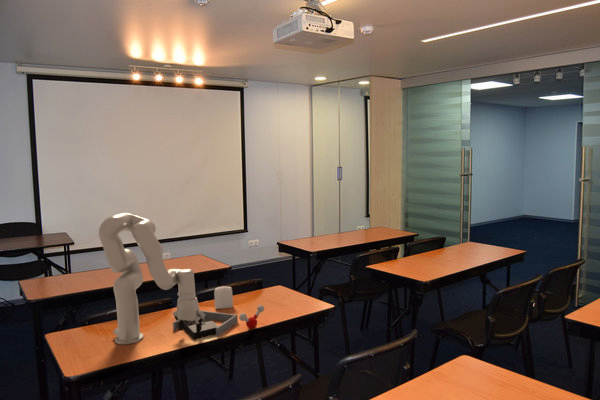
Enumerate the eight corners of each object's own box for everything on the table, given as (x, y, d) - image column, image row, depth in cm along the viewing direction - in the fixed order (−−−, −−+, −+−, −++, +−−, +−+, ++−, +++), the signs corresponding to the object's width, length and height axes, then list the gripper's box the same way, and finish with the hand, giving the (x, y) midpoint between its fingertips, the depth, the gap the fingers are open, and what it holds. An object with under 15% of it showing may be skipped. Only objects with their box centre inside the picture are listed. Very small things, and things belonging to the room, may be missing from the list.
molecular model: (247, 335, 206) (246, 315, 205) (237, 333, 209) (236, 313, 208) (266, 323, 222) (265, 304, 221) (256, 321, 224) (255, 302, 223)
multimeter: (206, 321, 226) (206, 312, 226) (220, 334, 210) (219, 324, 209) (181, 327, 219) (181, 318, 219) (194, 340, 203) (193, 330, 202)
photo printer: (214, 309, 244) (213, 288, 243) (215, 307, 249) (214, 286, 248) (233, 308, 246) (232, 287, 245) (233, 305, 250) (232, 284, 249)
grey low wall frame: (173, 330, 216) (172, 322, 215) (195, 317, 233) (195, 309, 233) (218, 336, 206) (217, 328, 206) (237, 322, 224) (237, 314, 224)
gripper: (167, 297, 203) (170, 332, 205) (198, 298, 197) (201, 335, 199) (176, 292, 210) (179, 326, 212) (207, 293, 204) (210, 328, 206)
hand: (190, 330), depth 205 cm, fingers open, 9 cm apart
